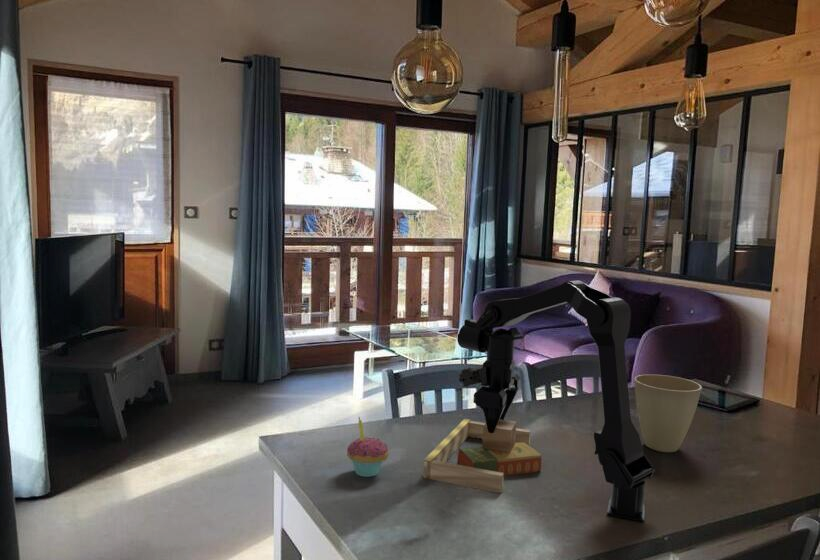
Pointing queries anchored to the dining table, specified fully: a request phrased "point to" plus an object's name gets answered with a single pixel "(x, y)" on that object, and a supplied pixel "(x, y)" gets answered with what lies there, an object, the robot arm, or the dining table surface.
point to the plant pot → (665, 409)
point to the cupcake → (367, 454)
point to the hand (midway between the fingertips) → (496, 426)
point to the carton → (501, 459)
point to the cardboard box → (500, 436)
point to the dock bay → (458, 473)
